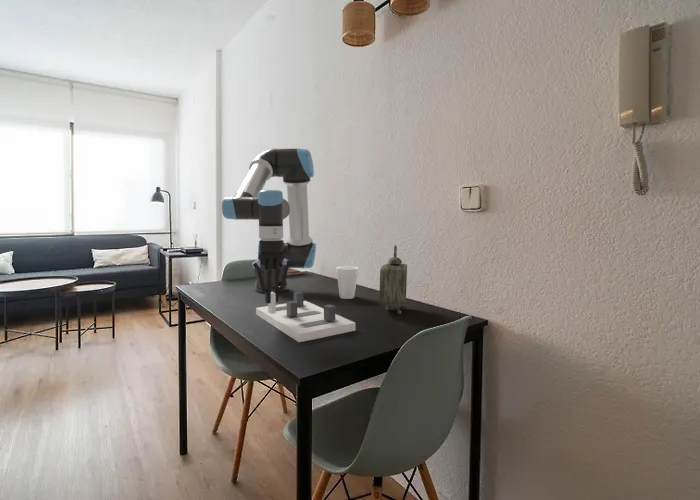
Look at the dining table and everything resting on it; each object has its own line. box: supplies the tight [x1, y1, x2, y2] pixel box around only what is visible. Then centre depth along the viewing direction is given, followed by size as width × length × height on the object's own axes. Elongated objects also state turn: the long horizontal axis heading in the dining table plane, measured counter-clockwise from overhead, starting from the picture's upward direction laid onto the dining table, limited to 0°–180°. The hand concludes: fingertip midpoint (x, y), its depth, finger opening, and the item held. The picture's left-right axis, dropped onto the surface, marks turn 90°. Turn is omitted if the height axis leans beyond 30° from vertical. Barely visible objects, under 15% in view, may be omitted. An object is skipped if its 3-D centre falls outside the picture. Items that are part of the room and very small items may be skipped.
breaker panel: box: [255, 300, 356, 343], centre depth 129 cm, size 34×20×3 cm, turn 34°
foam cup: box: [335, 265, 359, 300], centre depth 165 cm, size 10×9×13 cm
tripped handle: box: [286, 300, 297, 317], centre depth 127 cm, size 3×2×4 cm
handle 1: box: [293, 291, 304, 306], centre depth 140 cm, size 3×2×4 cm
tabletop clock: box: [379, 244, 408, 315], centre depth 144 cm, size 14×9×25 cm, turn 168°
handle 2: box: [323, 304, 336, 321], centre depth 122 cm, size 3×2×4 cm
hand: (271, 312), depth 123 cm, fingers closed
